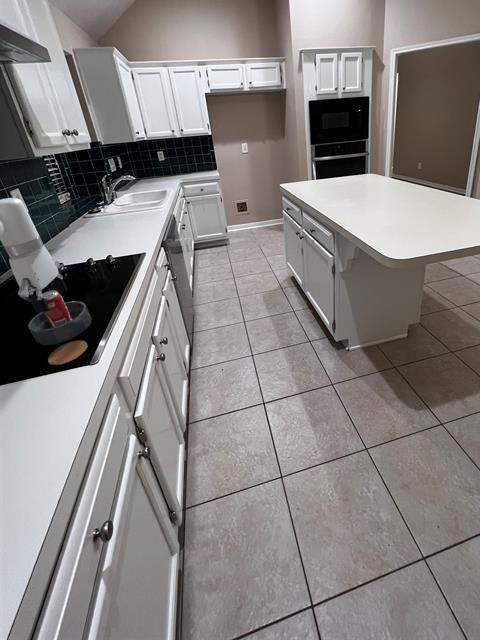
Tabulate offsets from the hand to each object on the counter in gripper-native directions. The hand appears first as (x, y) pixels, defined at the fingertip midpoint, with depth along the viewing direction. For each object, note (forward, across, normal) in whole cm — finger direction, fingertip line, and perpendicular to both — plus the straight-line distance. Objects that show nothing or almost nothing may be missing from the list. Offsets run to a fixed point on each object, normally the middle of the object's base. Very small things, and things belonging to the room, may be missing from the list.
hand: (53, 301), depth 89 cm
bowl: (+10, 0, 0) cm, 10 cm away
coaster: (+10, +12, +6) cm, 16 cm away
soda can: (+10, 0, 0) cm, 10 cm away
